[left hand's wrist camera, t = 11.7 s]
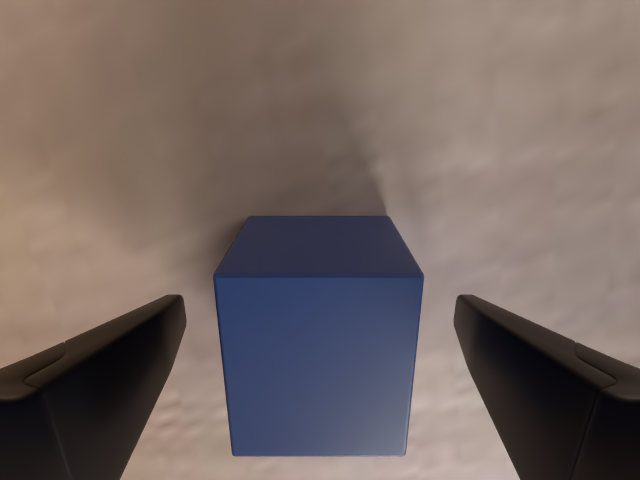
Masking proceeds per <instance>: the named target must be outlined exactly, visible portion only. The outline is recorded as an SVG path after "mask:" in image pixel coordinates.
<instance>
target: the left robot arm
mask: <svg viewBox="0 0 640 480" xmlns="http://www.w3.org/2000/svg"><path fill="white" fill-rule="evenodd" d="M185 327H186V313H185V306H184V300H183V297H182V296H181V295H166V296H164V297H162V298H159V299H157V300H155V301H153V302H151V303H148V304H146V305H144V306H142V307H140V308H137V309H135V310H133V311H131V312H129V313H126V314H124V315H122V316H120V317H118V318H115V319H113V320H111V321H109V322H106V323H104V324H102V325H100V326H98V327H95V328H93V329H91V330H89V331H87V332H84V333H82V334H80V335H78V336H76V337H73V338H71V339H69V340H67V341H65V343H64V342H62V343H60V344H58V345H56V346H53V347H51V348H49V349H47V350H44V351H42V352H40V353H38V354H35V355H33V356H31V357H28V358H26V359H23V360H21V361H19V362H16V363H14V364H11V365H9V366H6V367H4V368H1V369H0V480H120V478H121V476H122V474H123V472H124V469H125V467H126V465H127V463H128V461H129V459H130V457H131V455H132V452H133V450H134V448H135V446H136V444H137V442H138V440H139V438H140V435H141V433H142V431H143V429H144V427H145V425H146V423H147V421H148V418H149V416H150V414H151V412H152V410H153V408H154V406H155V404H156V402H157V399H158V397H159V395H160V393H161V391H162V389H163V387H164V385H165V382H166V380H167V378H168V376H169V374H170V371H171V369H172V366H173V364H174V361H175V358H176V355H177V352H178V349H179V346H180V343H181V340H182V337H183V333H184V330H185ZM454 327H455V330H456V333H457V336H458V339H459V342H460V346H461V349H462V352H463V355H464V358H465V361H466V364H467V366H468V369H469V371H470V374H471V376H472V378H473V380H474V382H475V384H476V387H477V389H478V391H479V393H480V395H481V397H482V399H483V401H484V404H485V406H486V408H487V410H488V412H489V414H490V416H491V418H492V421H493V423H494V425H495V427H496V429H497V431H498V433H499V435H500V438H501V440H502V442H503V444H504V446H505V448H506V450H507V452H508V455H509V457H510V459H511V461H512V463H513V465H514V467H515V469H516V472H517V474H518V476H519V478H520V480H640V369H639V368H636V367H634V366H631V365H629V364H626V363H624V362H622V361H619V360H617V359H614V358H612V357H609V356H607V355H605V354H603V353H600V352H598V351H596V350H593V349H591V348H589V347H587V346H584V345H582V344H580V343H578V342H576V343H575V341H573V340H571V339H569V338H567V337H564V336H562V335H560V334H558V333H556V332H553V331H551V330H549V329H547V328H545V327H542V326H540V325H538V324H536V323H534V322H531V321H529V320H527V319H525V318H523V317H520V316H518V315H516V314H514V313H511V312H509V311H507V310H505V309H503V308H500V307H498V306H496V305H494V304H492V303H489V302H487V301H485V300H483V299H481V298H478V297H476V296H474V295H459V296H458V297H457V300H456V306H455V314H454Z"/></svg>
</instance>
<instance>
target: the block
mask: <svg viewBox="0 0 640 480" xmlns="http://www.w3.org/2000/svg"><path fill="white" fill-rule="evenodd" d="M213 280H214V290H215V299H216V308H217V318H218V327H219V336H220V346H221V355H222V364H223V374H224V383H225V392H226V402H227V411H228V420H229V430H230V439H231V448H232V454H233V456H405V454H406V447H407V437H408V427H409V418H410V408H411V398H412V389H413V379H414V369H415V360H416V350H417V340H418V331H419V321H420V311H421V301H422V292H423V282H424V275H423V273H422V271H421V269H420V268H419V266H418V264H417V262H416V261H415V259H414V257H413V256H412V254H411V252H410V251H409V249H408V247H407V246H406V244H405V242H404V241H403V239H402V237H401V235H400V234H399V232H398V230H397V229H396V227H395V225H394V224H393V222H392V220H391V219H390V217H388V216H250V217H248V219H247V221H246V222H245V224H244V226H243V227H242V229H241V230H240V232H239V234H238V235H237V237H236V239H235V240H234V242H233V244H232V245H231V247H230V248H229V250H228V252H227V253H226V255H225V257H224V258H223V260H222V262H221V263H220V265H219V266H218V268H217V270H216V271H215V273H214V275H213Z"/></svg>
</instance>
